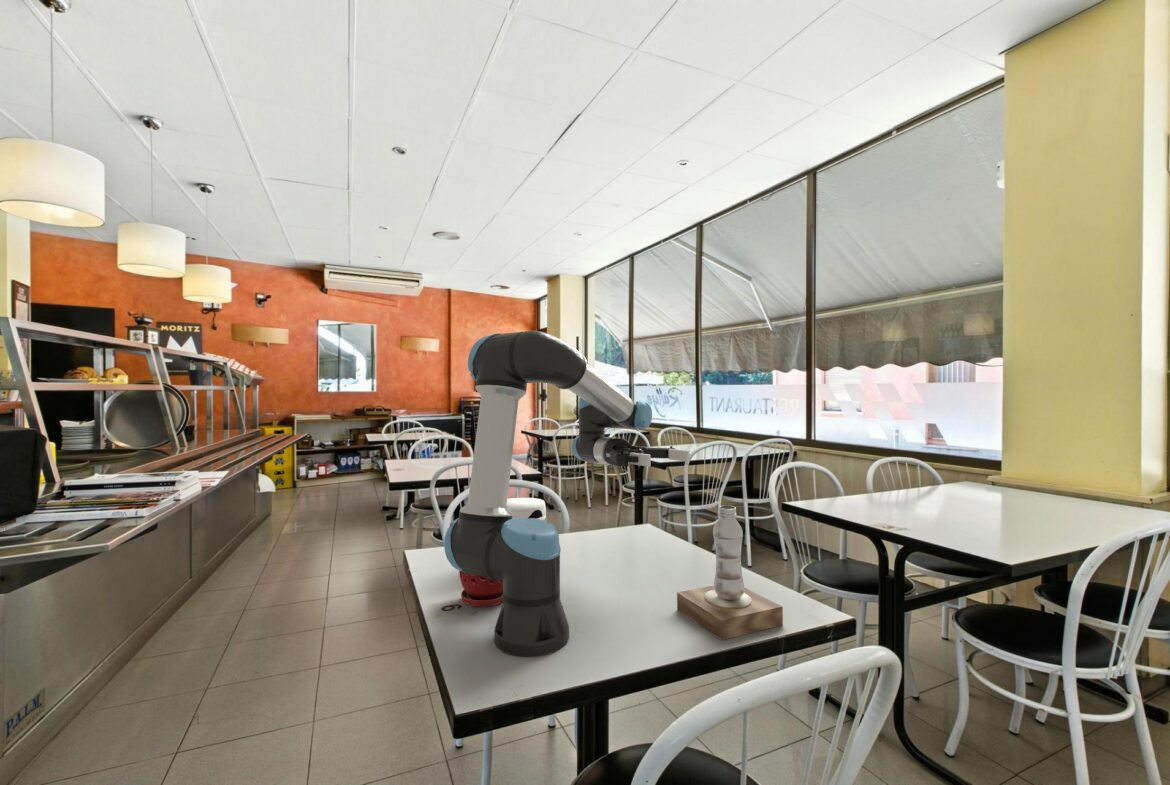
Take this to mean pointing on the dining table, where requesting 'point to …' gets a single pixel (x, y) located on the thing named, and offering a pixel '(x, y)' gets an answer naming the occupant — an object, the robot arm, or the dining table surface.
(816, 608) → the dining table surface
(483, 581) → the plant pot
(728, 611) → the walnut plinth
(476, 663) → the dining table surface
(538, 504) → the milk container
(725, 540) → the plastic bottle
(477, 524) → the robot arm
